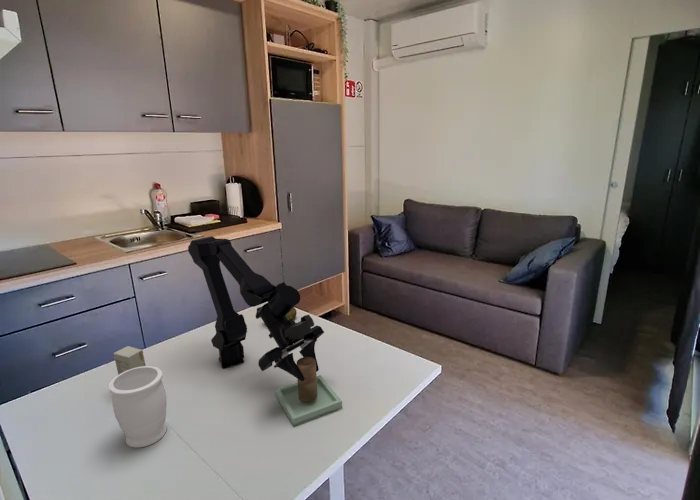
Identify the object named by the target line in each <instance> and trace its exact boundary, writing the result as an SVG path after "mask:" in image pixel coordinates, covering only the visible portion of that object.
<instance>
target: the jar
mask: <svg viewBox="0 0 700 500" xmlns="http://www.w3.org/2000/svg"><path fill="white" fill-rule="evenodd" d="M162 379H163V372H162V369H160V368H159V367H158V366H152V365H146V366H142V367H136V368H133V369H130V370H127V371H125V372H123V373H121V374H119V375H118V374H117V375H116V376H115V377H114V378H112V379H111V380H110V382H109V384H108V388H109V393H111V394H112V398H111V399H112V409H113V410H112V411H113V413H114V417H115V419H116V421H117V423H118V425H119V427H120V428H119V429H121V432H122V434H124V435H125V436H126V437H125V442H126V444H127V445H128V446H129V447H131V448H144V447H148V446H151V445H153V444H155V443H156V442H158V441H159V440H160V439H162V437H164V435H165V434H166V431H167V424H166V418H167V392H166V388H165V385H164V383H163V381H162Z"/></svg>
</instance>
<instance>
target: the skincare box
mask: <svg viewBox="0 0 700 500" xmlns="http://www.w3.org/2000/svg"><path fill="white" fill-rule="evenodd" d="M113 357H114V362H115V366H116V371H117V375H119V374H121V373H123V372H125V371H127V370H130V369H133V368H136V367H142V366H147V365H146V361H145V356H144V350H143V349H140V348H137V347H134V346H130V345H127V346H125V347H123V348H121V349H119V350H117V351H115V352H113Z"/></svg>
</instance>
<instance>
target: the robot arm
mask: <svg viewBox="0 0 700 500" xmlns="http://www.w3.org/2000/svg"><path fill="white" fill-rule="evenodd" d="M187 251H188V253H189V255H190V257H191V259H192V260H193V263H194V264H195V265H197V266H198V268H199V269H200V270H202V272H203V276H204V278H205V282H206V285H207V288H208V292H209V295H210V297H211V300H212V303H213V306H214V309H215V313H216V321H215V323H214V324H215V325H214V328H215V332H216V333H215V334H214V336H213V337H212V338H211V340H210V341H211V344H212V347H214V348H216V349H217V350H218V353H219V354H218V355H219V357H218V361H219V363H220V365H221V368H222V369H228V368H231V367H234V366H238V365H241V364H244V363H245V360H244V359H245V352H244V351H245V350H244V345H243V343H242V342H243V341H245V340H246V336H247V333H248V325H247V324H246V321H245V317H244V315H243V314H242V313H238V312H237V311H236V310H235V309H234V306H233V303H232V299H231V297H230V293H229V291H228V287H227V284H226V281H225V278H224V275H223V272H222V270H221V266H220V262H221V264H222V265H223V266H224V268H225V269H226V270H227V271H228V272H229V274H230V275H231V276H232V277H233V278H234V280H235V281H236V282H237V284H238V285H239V294H240V295H241V297H242V298H243V300H244V302H245V303H246V304H247V305H248V306H249V307H257V306H260V307H257V308H256V313H255V319H256V320H257V319H261V320H262V322H263V323H264V325H265V327H266V328H267V330H268V331H269V333H268V338H269V339H272V338H273V340H274V341H275V343H276V344H277V346H276V347H275V348H272V349H270V350H268V351H266V352H265V353H264V354H263V355H262V356H261V357H260V358H259V359H258V361H257V363H258V367H259V369H260V370H261V372H264V371H265V370H268V369H269V368H271V367H272V366H273V363H275V365H274V366H273V367H274V369H276V368H279V369H281V370H283V371H284V372H286V373H288V374H289V375H291V376H293V377H295V379H297V380H298V379H299V380H300V381H304V380H305V378H304V376H303V374H302V373H301V371H300V369H299V368H298V366H297V362H296V361H295V360H294V353H293V352H292V351H295V350H296V349H297V348H300V349H301V350H300V351H298V352H299V354H300V355H301V357H302V358H303V357H312V358H314V359H315V360H316V373H317V372H319V370H320V368H319V364H318V360H317V357H316V351H315V347H316V342H318V338H320V337H321V336H322V335H324V334H325V331H324V329H323V328H322V326H320V325H315V321H314V319H313V318H312V317H311V315H310V314H305V315H304V316H301V317H300V321H298V322H296V321H295V320H294V319H290V320H289V319H288V318H287V316H286V315H287V314H288V313H289V312H290V311H291V310H292V309H293V308H295V307H296V306H297V305H298V304H299V303H300V302H301V295H300V292H299V290H298V289H296V288H295V287H293V286H291V285H287V284H286V283H285V282H284V281H283V282H280V283H278V284H276V285H274V284H273V283H271V282H270V281H269V280H268V279H267V278H266V277H265V276H264V275H261V274H259V273H256V272H254V270H253V269H252V268H251V267H250V266H249V264H248V263H247V262H246V261H245V260H244V259H243V257H242V256H241V255H240V254H239V253H238V252H237V250H236V249H235V248H234V247H233V246H232V242H231V241H230V239H228V238H215V236H212V235H210V236H205V237H202V238H197V239H193V240H191V241H190V243H189V245H188V246H187ZM261 305H262V306H261Z"/></svg>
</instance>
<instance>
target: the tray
mask: <svg viewBox="0 0 700 500" xmlns="http://www.w3.org/2000/svg"><path fill="white" fill-rule="evenodd" d="M316 376H317V398H316V399H315V400H314V401H312V402H302V401H300V400H299V396H298V381H297V382H294V383H292V384H288V385H286V386H282V387H279V388H276V389H275V397H276V399H277V401H278V402H279V404H280V406H281V407H282V409H283V411H284V413H285V414H286V417H287V418H288V420H289V421H290V423H291V425H292V426H293V427H296V426H298V425H301V424H304V423H306V422H310V421H312V420H315V419H317V418H320V417H323V416H326V415H328V414H331V413H334V412H336V411H338V410H341V409H343V400H342V399H341V398H340V397H339V395H337V393H336V392H335V391H334V390H333V388H332V387H331V386H330V385H329V384H328V382H327V381H326V380H325V379H324V377H323V376H322V375H321V374H320V375H316Z"/></svg>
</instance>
